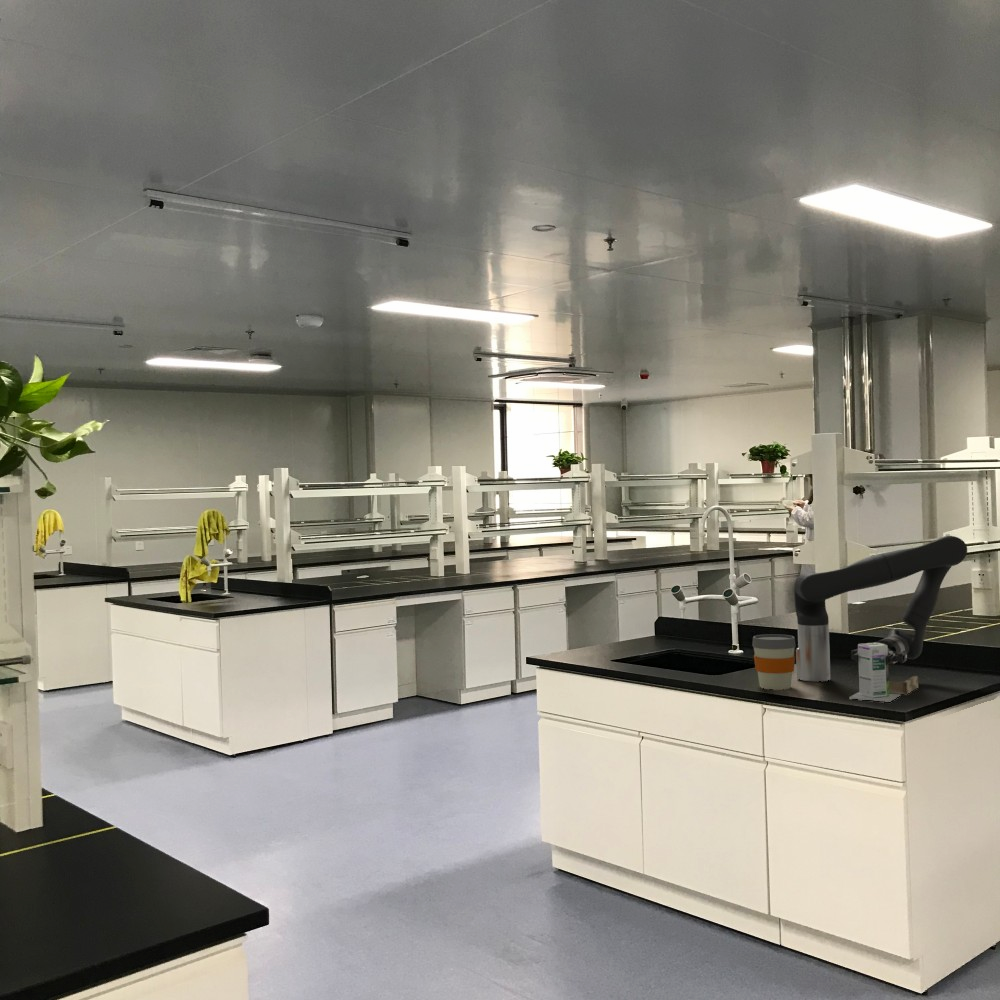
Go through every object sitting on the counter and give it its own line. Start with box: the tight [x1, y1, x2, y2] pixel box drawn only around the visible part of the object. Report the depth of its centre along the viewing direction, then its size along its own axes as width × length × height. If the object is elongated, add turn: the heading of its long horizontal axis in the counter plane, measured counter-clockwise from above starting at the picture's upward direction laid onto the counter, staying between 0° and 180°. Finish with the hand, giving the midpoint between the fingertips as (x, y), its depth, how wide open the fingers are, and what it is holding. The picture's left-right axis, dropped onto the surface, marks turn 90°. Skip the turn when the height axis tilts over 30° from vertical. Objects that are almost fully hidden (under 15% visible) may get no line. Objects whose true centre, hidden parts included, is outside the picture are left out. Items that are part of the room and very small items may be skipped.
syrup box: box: [857, 642, 890, 698], centre depth 278 cm, size 6×6×14 cm
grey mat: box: [848, 691, 901, 703], centre depth 278 cm, size 11×10×1 cm
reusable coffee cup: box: [752, 633, 797, 691], centre depth 298 cm, size 13×12×15 cm
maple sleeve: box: [889, 675, 919, 695], centre depth 288 cm, size 12×11×4 cm
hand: (871, 659), depth 276 cm, fingers open, 8 cm apart
